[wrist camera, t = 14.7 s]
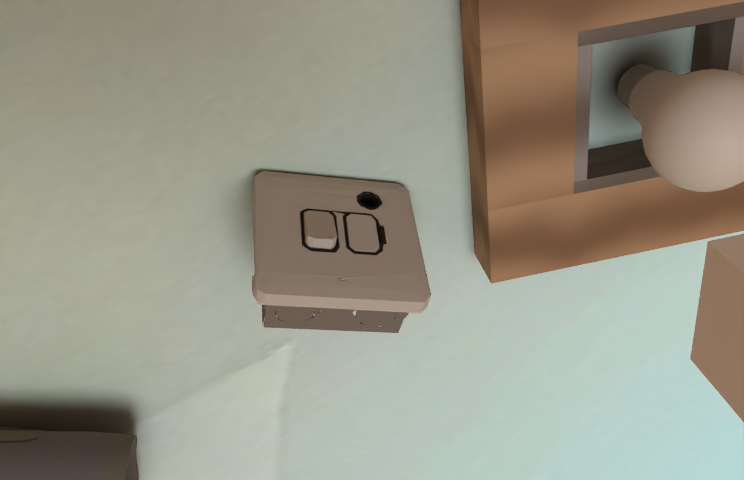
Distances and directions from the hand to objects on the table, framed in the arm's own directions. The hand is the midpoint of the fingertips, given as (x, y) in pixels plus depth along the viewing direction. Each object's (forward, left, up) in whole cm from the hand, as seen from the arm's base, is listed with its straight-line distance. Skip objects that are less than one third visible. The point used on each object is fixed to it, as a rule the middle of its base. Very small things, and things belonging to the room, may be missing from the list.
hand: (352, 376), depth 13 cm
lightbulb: (+8, +20, -29) cm, 36 cm away
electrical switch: (+13, +1, -29) cm, 32 cm away
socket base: (+8, +20, -29) cm, 36 cm away
